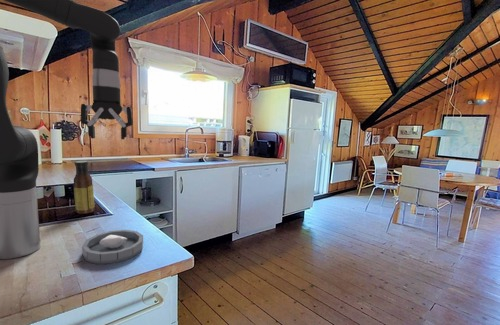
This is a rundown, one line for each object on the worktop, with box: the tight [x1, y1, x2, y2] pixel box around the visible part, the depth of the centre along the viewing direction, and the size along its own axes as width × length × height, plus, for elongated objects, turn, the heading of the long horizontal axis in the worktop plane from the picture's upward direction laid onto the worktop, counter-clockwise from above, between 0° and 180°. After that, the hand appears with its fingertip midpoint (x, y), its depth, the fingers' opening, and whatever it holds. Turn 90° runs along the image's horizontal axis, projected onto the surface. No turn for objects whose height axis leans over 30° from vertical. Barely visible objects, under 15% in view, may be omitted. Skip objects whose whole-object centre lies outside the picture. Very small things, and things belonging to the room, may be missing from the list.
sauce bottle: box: [73, 160, 96, 215], centre depth 99 cm, size 7×6×20 cm
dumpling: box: [99, 235, 128, 248], centre depth 72 cm, size 7×5×4 cm
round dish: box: [81, 229, 144, 265], centre depth 72 cm, size 15×15×3 cm
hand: (108, 138), depth 82 cm, fingers open, 8 cm apart
